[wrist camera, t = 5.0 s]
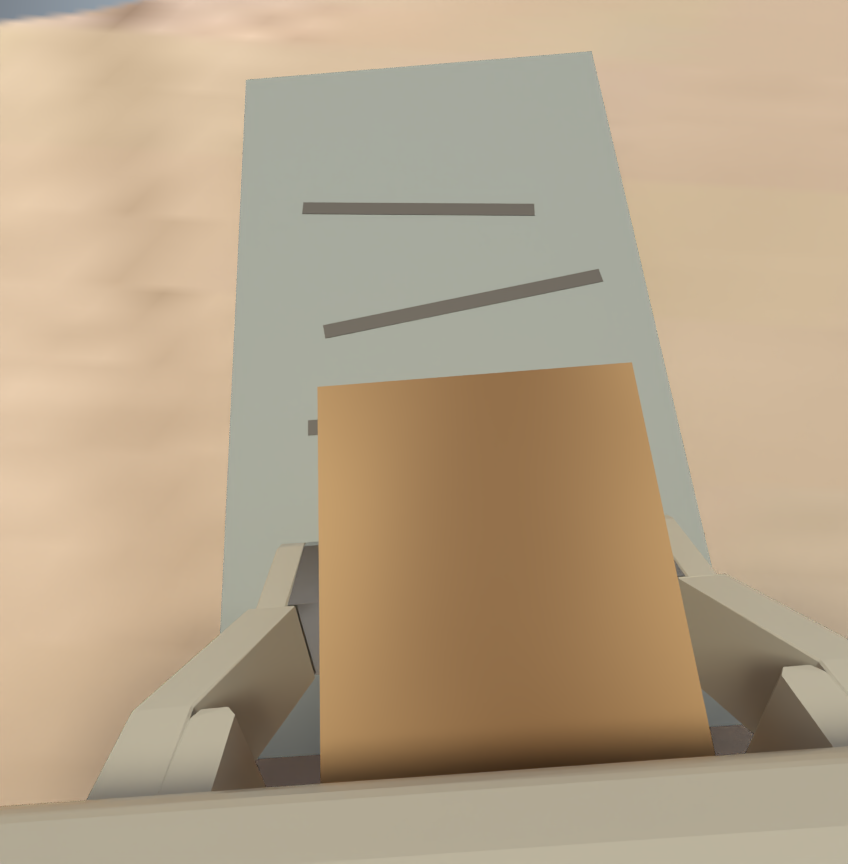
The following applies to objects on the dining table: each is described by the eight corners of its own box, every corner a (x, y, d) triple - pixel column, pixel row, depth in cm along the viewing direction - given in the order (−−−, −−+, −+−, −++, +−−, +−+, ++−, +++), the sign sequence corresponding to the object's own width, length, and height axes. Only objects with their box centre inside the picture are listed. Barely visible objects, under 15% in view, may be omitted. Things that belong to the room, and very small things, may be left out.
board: (237, 742, 14) (213, 762, 13) (259, 113, 21) (246, 79, 19) (716, 708, 14) (749, 724, 12) (581, 87, 21) (591, 50, 19)
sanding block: (392, 706, 13) (320, 904, 5) (382, 485, 15) (317, 387, 7) (560, 694, 13) (740, 877, 5) (530, 473, 14) (631, 362, 7)
